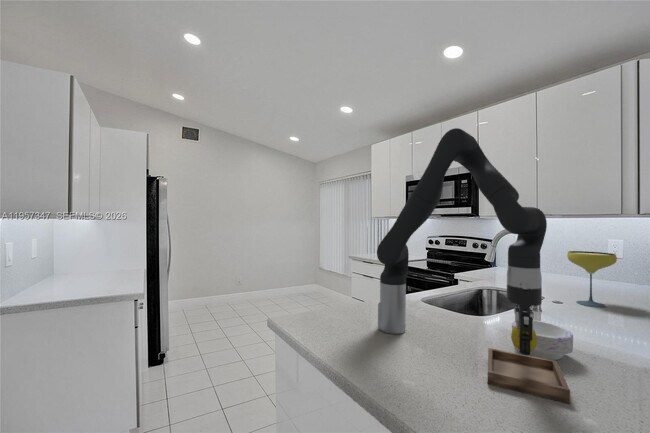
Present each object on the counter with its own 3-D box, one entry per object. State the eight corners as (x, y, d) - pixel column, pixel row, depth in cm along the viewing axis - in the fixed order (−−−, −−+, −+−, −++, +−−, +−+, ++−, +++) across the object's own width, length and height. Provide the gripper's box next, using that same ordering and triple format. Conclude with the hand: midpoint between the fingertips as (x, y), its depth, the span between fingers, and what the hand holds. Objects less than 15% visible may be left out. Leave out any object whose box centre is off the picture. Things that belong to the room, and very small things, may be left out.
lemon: (541, 359, 74) (541, 327, 74) (516, 357, 75) (516, 325, 75) (530, 350, 80) (530, 319, 80) (507, 348, 81) (507, 318, 81)
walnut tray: (487, 383, 74) (487, 371, 74) (488, 358, 88) (488, 347, 88) (569, 403, 67) (569, 390, 67) (556, 372, 80) (556, 360, 81)
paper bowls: (577, 370, 81) (577, 341, 82) (511, 356, 90) (511, 329, 90) (568, 350, 94) (568, 324, 94) (511, 339, 102) (511, 316, 102)
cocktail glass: (578, 307, 141) (578, 254, 141) (560, 298, 158) (560, 250, 158) (626, 311, 136) (626, 256, 136) (602, 301, 153) (602, 251, 153)
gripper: (505, 277, 86) (505, 337, 86) (508, 287, 73) (507, 357, 73) (537, 280, 82) (537, 342, 82) (546, 291, 70) (546, 365, 69)
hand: (523, 349), depth 78 cm, fingers closed on lemon, 5 cm apart
